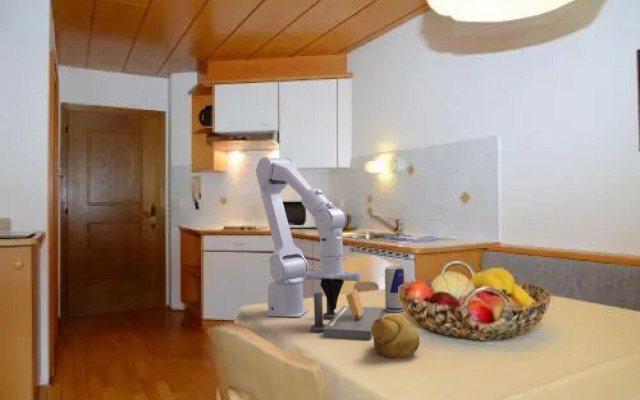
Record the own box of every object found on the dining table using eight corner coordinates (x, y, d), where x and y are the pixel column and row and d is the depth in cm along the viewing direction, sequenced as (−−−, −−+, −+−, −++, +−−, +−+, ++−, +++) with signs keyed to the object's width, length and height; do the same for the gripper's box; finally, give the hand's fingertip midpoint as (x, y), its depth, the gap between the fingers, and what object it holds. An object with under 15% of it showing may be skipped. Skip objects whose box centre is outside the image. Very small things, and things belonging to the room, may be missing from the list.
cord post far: (321, 319, 126) (320, 285, 126) (325, 315, 130) (324, 282, 130) (336, 320, 125) (335, 285, 125) (339, 316, 129) (338, 283, 129)
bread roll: (374, 340, 108) (373, 305, 108) (418, 341, 106) (417, 305, 106) (371, 360, 95) (370, 320, 95) (420, 362, 94) (419, 321, 94)
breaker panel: (323, 337, 111) (323, 327, 111) (343, 313, 132) (343, 305, 132) (370, 339, 108) (370, 330, 108) (383, 315, 129) (383, 307, 129)
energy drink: (406, 312, 132) (405, 269, 131) (386, 312, 132) (385, 269, 132) (403, 307, 137) (402, 266, 137) (384, 308, 137) (383, 266, 137)
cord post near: (308, 332, 115) (307, 295, 115) (313, 327, 119) (312, 291, 119) (324, 333, 114) (323, 295, 114) (328, 328, 118) (328, 292, 118)
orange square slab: (354, 320, 117) (345, 295, 117) (358, 314, 123) (350, 290, 123) (360, 319, 117) (351, 293, 117) (364, 312, 122) (356, 289, 123)
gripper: (299, 257, 119) (300, 311, 119) (356, 258, 115) (358, 313, 116) (307, 253, 126) (308, 304, 126) (362, 254, 122) (363, 307, 122)
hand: (332, 308), depth 121 cm, fingers closed
